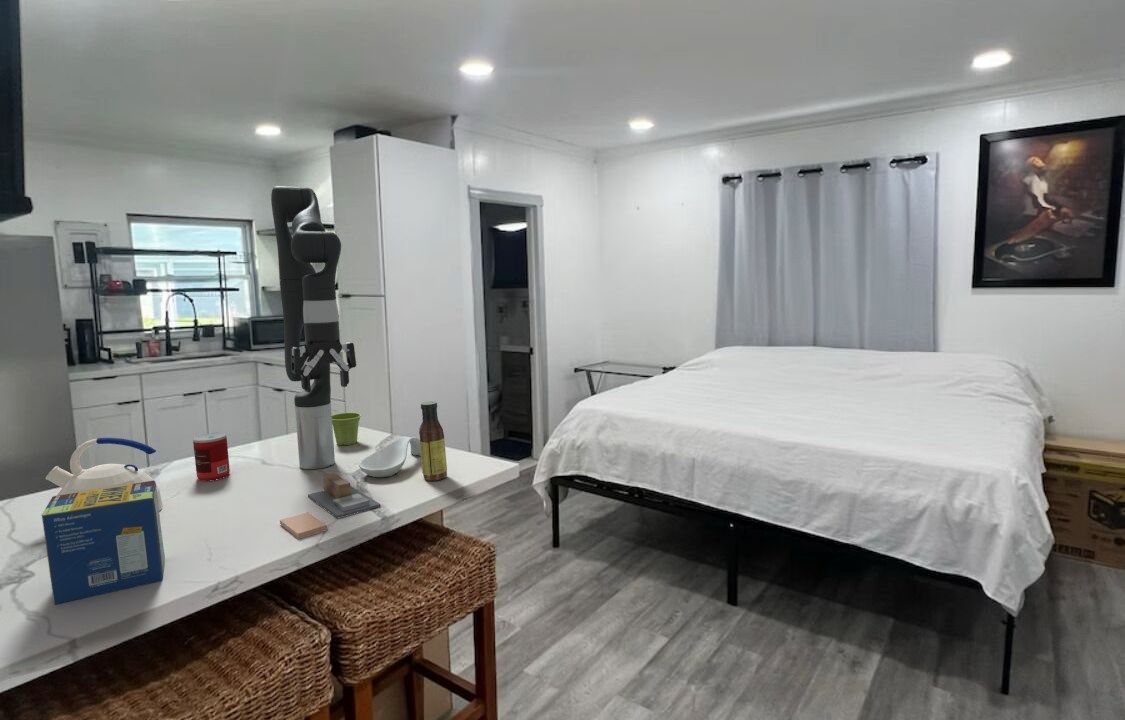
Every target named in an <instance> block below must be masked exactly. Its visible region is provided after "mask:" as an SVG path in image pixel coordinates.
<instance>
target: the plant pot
mask: <svg viewBox="0 0 1125 720" xmlns="http://www.w3.org/2000/svg"><path fill="white" fill-rule="evenodd" d="M361 417H362V414H361V413H359V412H343V413H342V412H340V413H336V414H332V426H333V435H334V437H335V443H336V445H338V446H342V445H344V446H349V445H355V444H356V443H357V442H358V433H359V423H360V419H361Z"/></svg>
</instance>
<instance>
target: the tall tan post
mask: <svg viewBox="0 0 1125 720" xmlns="http://www.w3.org/2000/svg"><path fill="white" fill-rule="evenodd" d="M322 480H323V491H325V492H326V493H328V494H329V495H331V496H332V497H334V498H335V500H333V504H334V505H335V506H337V507H338V508H339V509H341V510H342V511H347V510H351V509H355V508H358V507H362V506H366V505H369V500H368V499H366V498H365V497H363V496H361V495H360V494H354V495H351V486H352V485H351V482H350V481H348V480H347V479H344V478H343V477H341V476H340V475H339V474H336V473H335V472H331V473H326V474H323V475H322Z"/></svg>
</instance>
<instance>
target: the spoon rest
mask: <svg viewBox="0 0 1125 720" xmlns="http://www.w3.org/2000/svg"><path fill="white" fill-rule="evenodd" d="M409 444H410V454H413V455H412V456H416V455H421V449H420V438H418V437H415V436H412V437H410V436H405V435H403V436H401V437H397V438H396V439H395V440H393V441H392V442H390V443H388V444H387V445H386V446H384V447H382V448H381V449H379V450H377V451H375V452H374V453H372V454H369V456H366V457H364V458H363V459H361V461H360V462H359V463H358V466H359V469H360V470H361V471H362V472H363V473H365V474H366V475H368V476H370V477H374V478H388V477H392V476H394V475H396V474H397V473H398V472H399V471H400V470H401V469H402V468H403V466H404V465H405V462H406V460H407V456H408V447H409ZM395 473H396V474H395ZM393 474H394V475H393ZM391 475H392V476H391ZM387 476H388V477H387Z"/></svg>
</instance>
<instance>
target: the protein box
mask: <svg viewBox="0 0 1125 720" xmlns="http://www.w3.org/2000/svg"><path fill="white" fill-rule="evenodd" d="M156 485H157V483H156V481H155V480H154V479H153V481H147V482H141V483H135V484H128V485H122V486H116V487H110V488H103V489H96V490H90V491H84V492H78V493H72V494H65V495H58V494H57V495H58V496H57V495H54V496H53V495H52V497H51V498H50V500H49V502H48V504H47V505H46V507H45V509H44V510H43V512H42V513H41V516H40V517H41V520H42V528H43V533H44V540H45V547H46V548H45V549H46V554H47V563H48V569H49V570H48V571H49V578H50V584H51V586H50V587H51V592H52V599H53V600H52V601H53V604H54V605H59V604H63V603H68V602H72V601H78V600H81V599H86V598H92V597H96V596H100V595H104V594H105V595H106V594H109V593H113V592H117V591H123V590H127V589H131V588H132V589H133V588H137V587H141V586H145V585H150V584H154V583H158V582H162V581H163V580H164V569H165V561H166V560H165V559H166V556H165V555H166V554H165V549H164V541H163V531H162V525H161V517H160V511H159V507H158V498H157V490H156Z"/></svg>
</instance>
